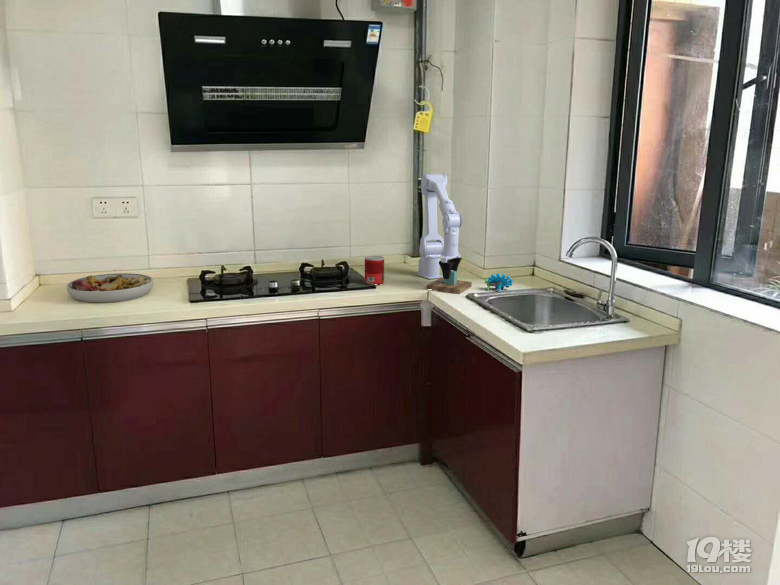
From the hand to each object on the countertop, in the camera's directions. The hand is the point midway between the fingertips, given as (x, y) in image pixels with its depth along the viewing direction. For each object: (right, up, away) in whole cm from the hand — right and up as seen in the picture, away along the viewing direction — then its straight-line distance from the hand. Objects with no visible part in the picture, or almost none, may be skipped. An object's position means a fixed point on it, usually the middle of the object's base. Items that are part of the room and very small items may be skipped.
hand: (449, 277), depth 259 cm
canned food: (-31, -3, +7) cm, 31 cm away
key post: (0, -5, +1) cm, 5 cm away
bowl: (-129, -7, -16) cm, 130 cm away
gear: (+20, -6, -1) cm, 20 cm away
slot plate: (0, -4, +1) cm, 5 cm away
